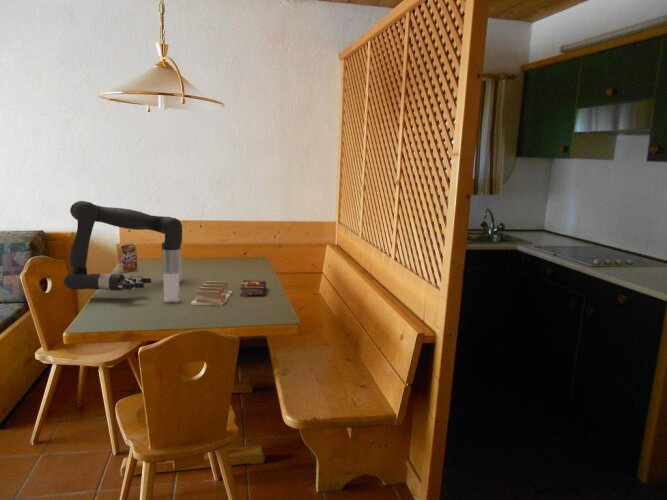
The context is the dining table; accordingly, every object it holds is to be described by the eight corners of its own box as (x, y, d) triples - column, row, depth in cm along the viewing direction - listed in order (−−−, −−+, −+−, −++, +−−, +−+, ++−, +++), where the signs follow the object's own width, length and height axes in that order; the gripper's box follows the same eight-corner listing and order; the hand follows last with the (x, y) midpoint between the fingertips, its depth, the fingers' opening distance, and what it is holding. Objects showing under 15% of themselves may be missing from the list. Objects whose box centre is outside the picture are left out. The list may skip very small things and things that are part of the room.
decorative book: (266, 288, 260) (266, 278, 259) (264, 297, 244) (264, 287, 243) (243, 288, 259) (243, 278, 258) (239, 297, 243) (239, 287, 242)
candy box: (122, 273, 282) (120, 245, 279) (118, 271, 285) (117, 244, 282) (138, 270, 288) (136, 243, 285) (134, 269, 291) (133, 242, 288)
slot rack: (203, 292, 249) (203, 280, 248) (232, 293, 248) (232, 281, 247) (191, 304, 229) (190, 291, 228) (222, 305, 229) (222, 292, 228)
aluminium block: (166, 300, 235) (165, 272, 233) (179, 300, 235) (178, 272, 233) (164, 301, 232) (163, 273, 230) (177, 302, 232) (176, 274, 230)
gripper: (103, 277, 225) (140, 278, 225) (118, 270, 239) (153, 271, 239) (104, 294, 226) (141, 295, 226) (118, 286, 240) (153, 287, 240)
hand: (147, 283), depth 232 cm, fingers open, 8 cm apart
